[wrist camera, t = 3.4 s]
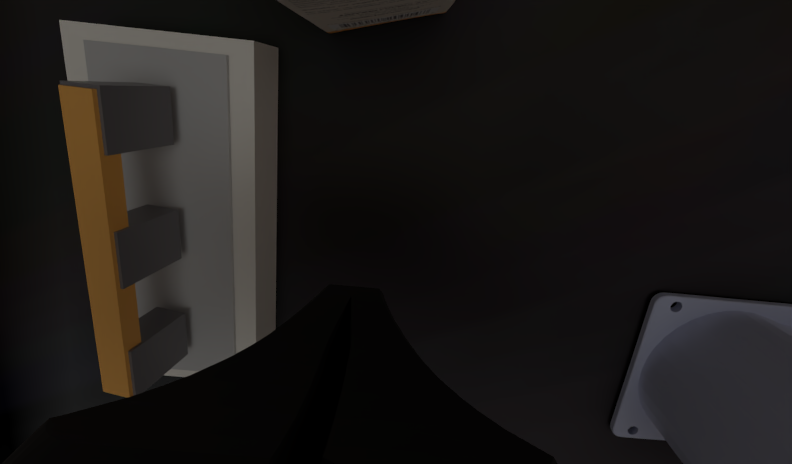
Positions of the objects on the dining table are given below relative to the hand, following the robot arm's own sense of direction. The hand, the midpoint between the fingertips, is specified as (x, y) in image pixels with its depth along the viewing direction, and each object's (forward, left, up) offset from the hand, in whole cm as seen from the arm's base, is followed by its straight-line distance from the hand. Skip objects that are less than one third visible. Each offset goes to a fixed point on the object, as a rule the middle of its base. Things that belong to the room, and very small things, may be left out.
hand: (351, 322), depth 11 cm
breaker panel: (+7, 0, -8) cm, 11 cm away
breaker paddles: (+7, 0, -5) cm, 9 cm away
